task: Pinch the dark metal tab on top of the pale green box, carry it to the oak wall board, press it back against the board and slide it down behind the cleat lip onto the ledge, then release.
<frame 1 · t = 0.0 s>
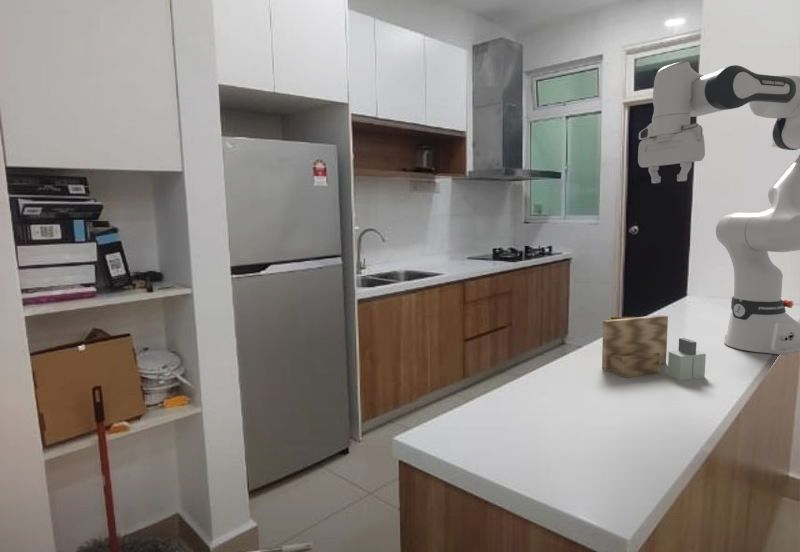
hand: (668, 182, 131), 48 cm above the counter, fingers open, 8 cm apart
wall board: (634, 366, 130), on the counter
pale green box: (685, 376, 122), on the counter
flower pot: (626, 350, 144), on the counter
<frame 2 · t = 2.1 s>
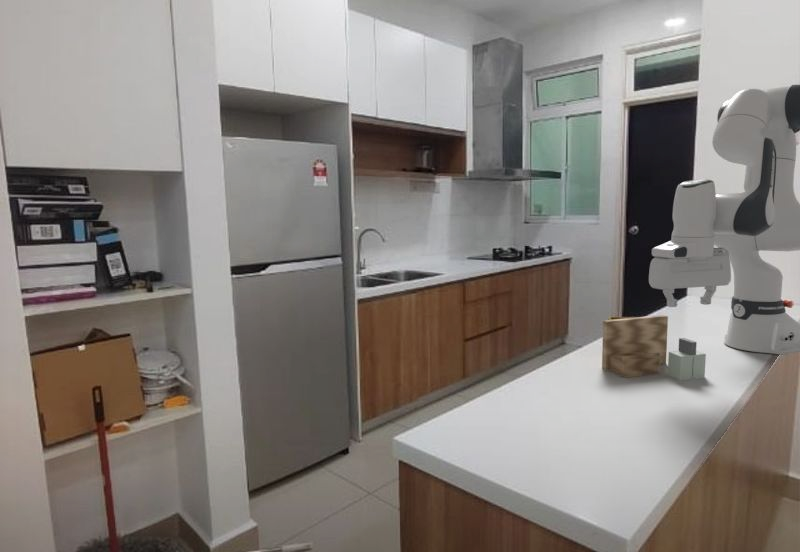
hand: (688, 305, 119), 18 cm above the counter, fingers open, 8 cm apart
nothing on the counter moved.
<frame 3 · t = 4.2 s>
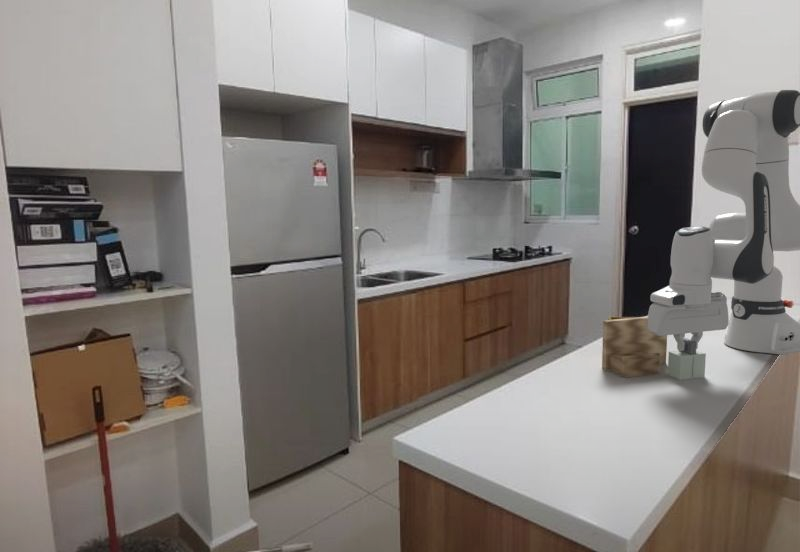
hand: (687, 349, 121), 7 cm above the counter, fingers closed on pale green box
pale green box: (685, 375, 122), on the counter, touching gripper
everything else where it was.
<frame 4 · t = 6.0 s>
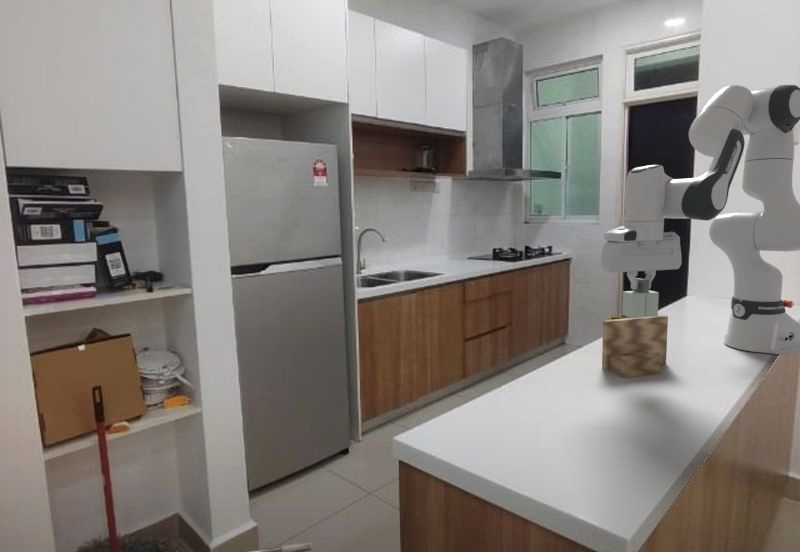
hand: (640, 288, 121), 22 cm above the counter, fingers closed on pale green box
pale green box: (639, 315, 122), point 15 cm above the counter, touching gripper
everything else where it was.
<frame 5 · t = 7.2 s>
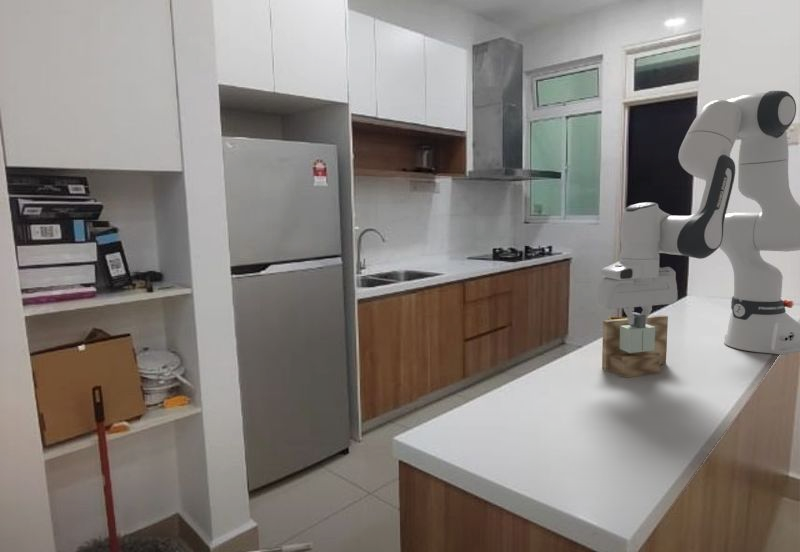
hand: (637, 323, 123), 13 cm above the counter, fingers closed on pale green box
pale green box: (636, 349, 124), point 6 cm above the counter, touching gripper
everything else where it was.
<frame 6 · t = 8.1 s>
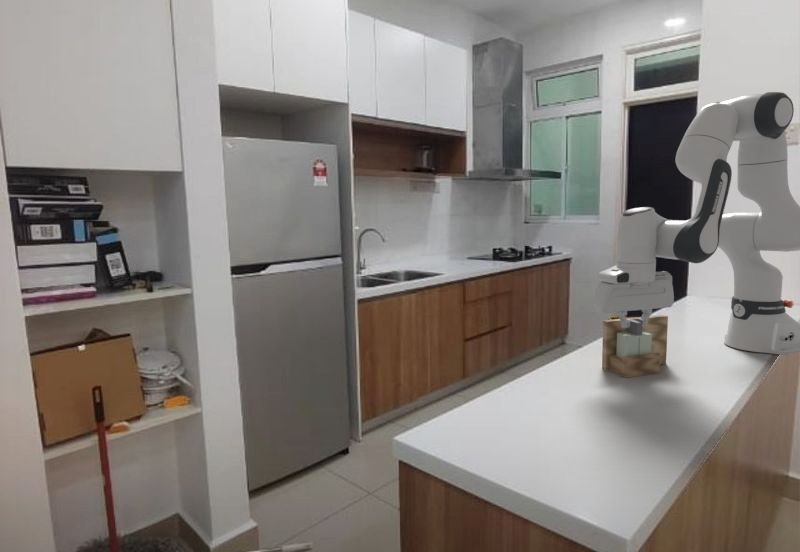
hand: (634, 326, 125), 12 cm above the counter, fingers open, 3 cm apart
pale green box: (633, 356, 126), point 4 cm above the counter, touching wall board
everything else where it was.
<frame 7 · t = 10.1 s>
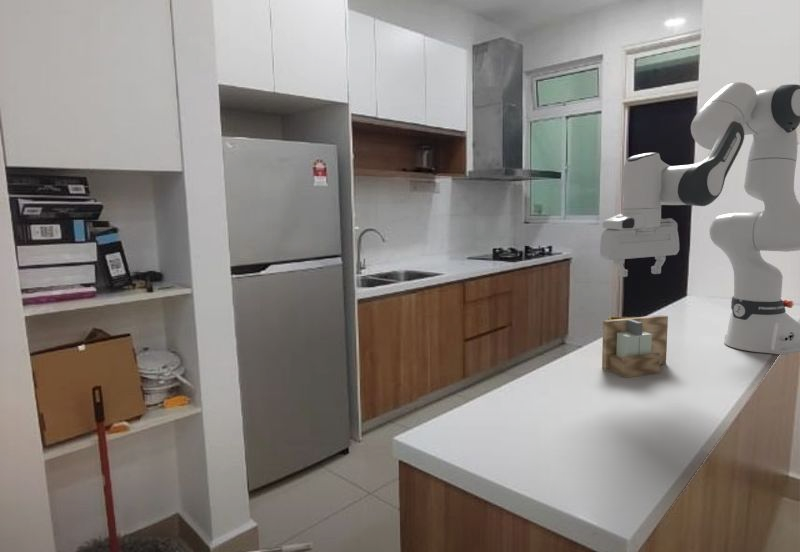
hand: (639, 275, 124), 25 cm above the counter, fingers open, 8 cm apart
nothing on the counter moved.
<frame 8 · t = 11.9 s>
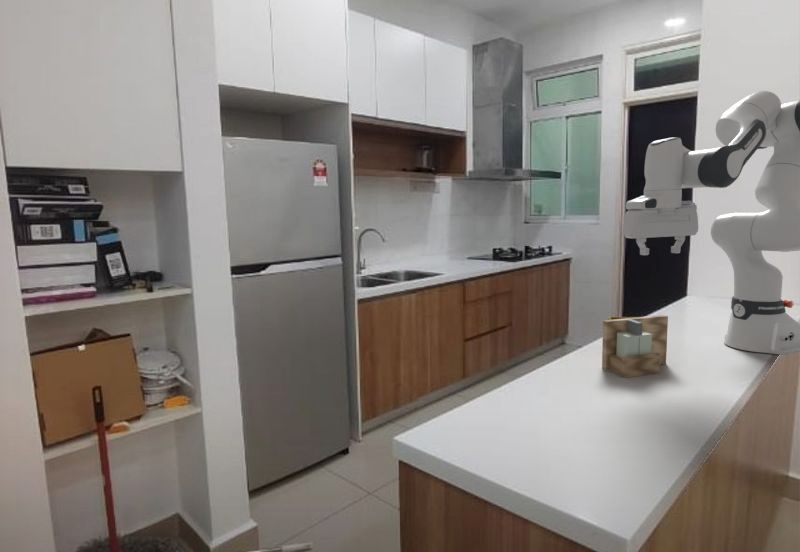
hand: (660, 254, 131), 29 cm above the counter, fingers open, 8 cm apart
nothing on the counter moved.
at the end: pale green box 0.1 cm from the target spot, point 4.0 cm above the counter; pale green box tilted 0°; the gripper is holding nothing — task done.
